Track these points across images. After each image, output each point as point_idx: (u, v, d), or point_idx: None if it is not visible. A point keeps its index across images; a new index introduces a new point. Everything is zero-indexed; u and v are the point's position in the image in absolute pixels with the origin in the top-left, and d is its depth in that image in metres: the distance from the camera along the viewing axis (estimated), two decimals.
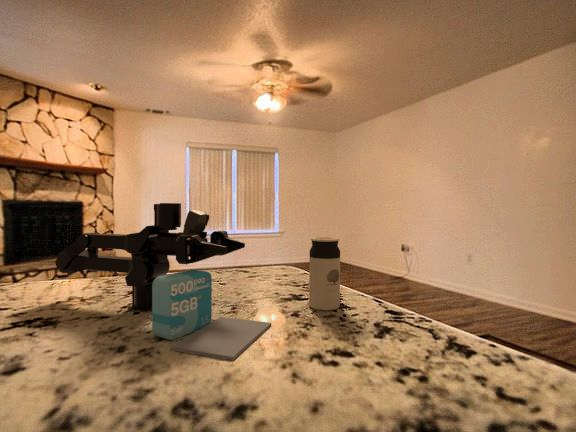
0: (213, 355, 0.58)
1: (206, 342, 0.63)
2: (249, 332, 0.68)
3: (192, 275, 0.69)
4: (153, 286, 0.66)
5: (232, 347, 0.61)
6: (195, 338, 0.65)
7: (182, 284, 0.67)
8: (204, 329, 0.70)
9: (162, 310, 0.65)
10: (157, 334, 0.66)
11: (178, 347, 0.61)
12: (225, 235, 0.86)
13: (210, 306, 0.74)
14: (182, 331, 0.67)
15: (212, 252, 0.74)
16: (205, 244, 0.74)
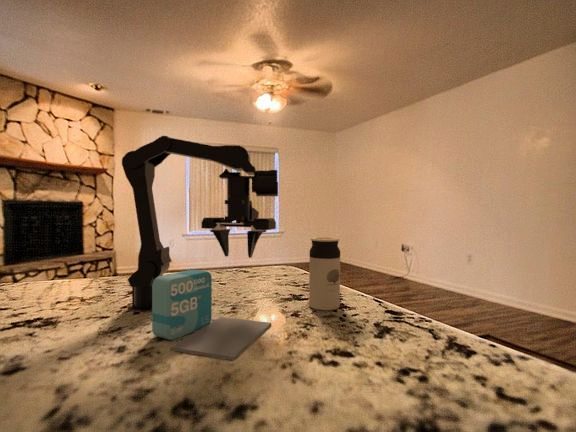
0: (213, 355, 0.58)
1: (206, 342, 0.63)
2: (249, 332, 0.68)
3: (192, 275, 0.69)
4: (153, 286, 0.66)
5: (232, 347, 0.61)
6: (195, 338, 0.65)
7: (182, 284, 0.67)
8: (204, 329, 0.70)
9: (162, 310, 0.65)
10: (157, 334, 0.66)
11: (178, 347, 0.61)
12: None
13: (210, 306, 0.74)
14: (182, 331, 0.67)
15: (252, 246, 0.85)
16: (257, 240, 0.87)
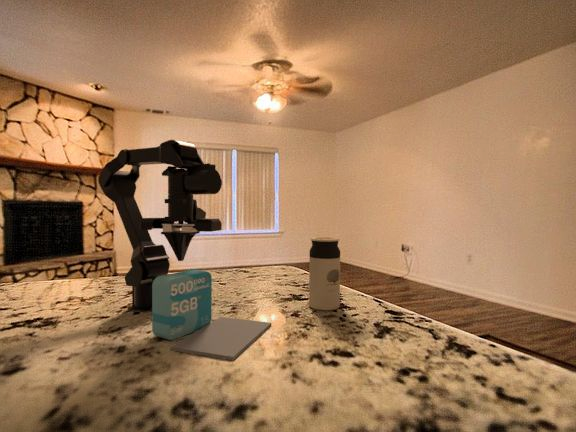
0: (213, 355, 0.58)
1: (206, 342, 0.63)
2: (249, 332, 0.68)
3: (192, 275, 0.69)
4: (153, 286, 0.66)
5: (232, 347, 0.61)
6: (195, 338, 0.65)
7: (182, 284, 0.67)
8: (204, 329, 0.70)
9: (162, 310, 0.65)
10: (157, 334, 0.66)
11: (178, 347, 0.61)
12: None
13: (210, 306, 0.74)
14: (182, 331, 0.67)
15: (183, 249, 0.79)
16: (189, 242, 0.81)
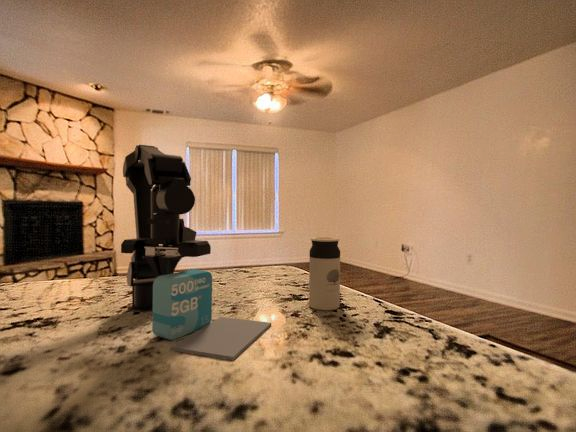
0: (213, 355, 0.58)
1: (206, 342, 0.63)
2: (249, 332, 0.68)
3: (193, 275, 0.69)
4: (154, 286, 0.66)
5: (232, 347, 0.61)
6: (195, 338, 0.65)
7: (183, 284, 0.67)
8: (204, 329, 0.70)
9: (162, 310, 0.65)
10: (157, 334, 0.66)
11: (178, 347, 0.61)
12: None
13: (210, 306, 0.74)
14: (182, 331, 0.67)
15: None
16: (175, 266, 0.72)
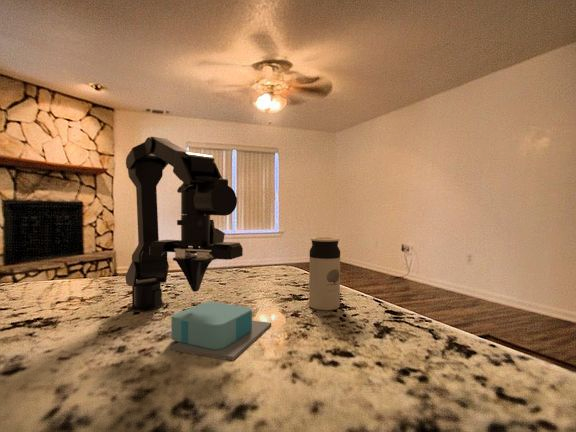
0: (213, 355, 0.58)
1: None
2: (249, 332, 0.68)
3: (238, 338, 0.65)
4: (211, 327, 0.60)
5: (232, 347, 0.61)
6: None
7: None
8: None
9: (192, 338, 0.61)
10: (172, 325, 0.64)
11: (178, 347, 0.61)
12: None
13: None
14: None
15: (198, 277, 0.68)
16: (205, 269, 0.70)
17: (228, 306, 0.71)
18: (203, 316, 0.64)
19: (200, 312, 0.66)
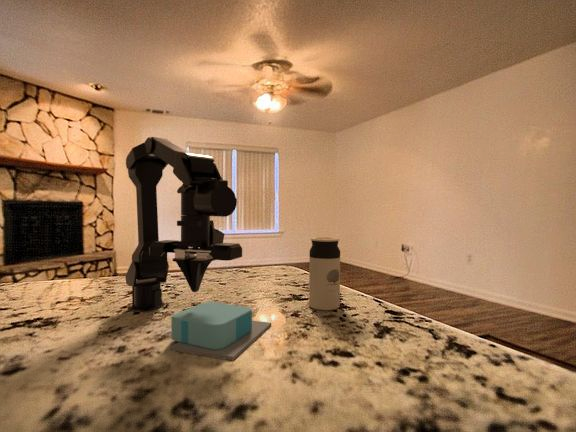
0: (213, 355, 0.58)
1: None
2: (249, 332, 0.68)
3: (238, 338, 0.65)
4: (211, 327, 0.60)
5: (232, 347, 0.61)
6: None
7: None
8: None
9: (192, 338, 0.61)
10: (172, 325, 0.64)
11: (178, 347, 0.61)
12: None
13: None
14: None
15: (198, 278, 0.68)
16: (205, 270, 0.70)
17: (228, 306, 0.71)
18: (203, 316, 0.64)
19: (200, 312, 0.66)
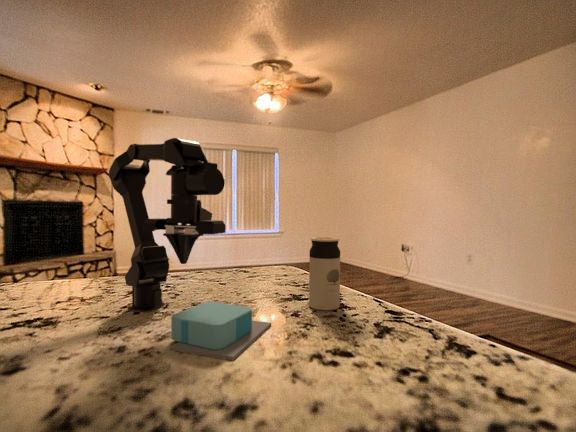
0: (213, 355, 0.58)
1: None
2: (249, 332, 0.68)
3: (238, 338, 0.65)
4: (211, 327, 0.60)
5: (232, 347, 0.61)
6: None
7: None
8: None
9: (192, 338, 0.61)
10: (172, 325, 0.64)
11: (178, 347, 0.61)
12: None
13: None
14: None
15: (186, 251, 0.76)
16: (193, 244, 0.78)
17: (228, 306, 0.71)
18: (203, 316, 0.64)
19: (200, 312, 0.66)
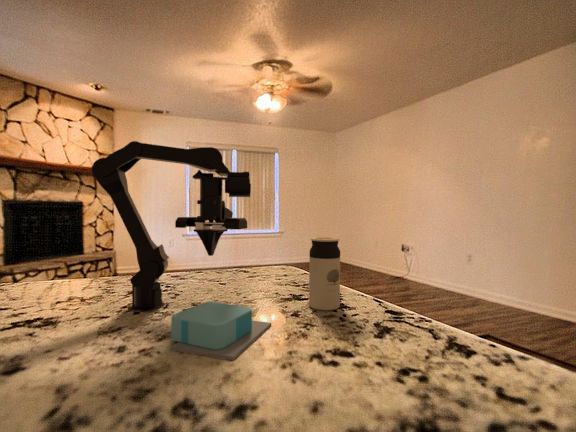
0: (213, 355, 0.58)
1: None
2: (249, 332, 0.68)
3: (238, 338, 0.65)
4: (211, 327, 0.60)
5: (232, 347, 0.61)
6: None
7: None
8: None
9: (192, 338, 0.61)
10: (172, 325, 0.64)
11: (178, 347, 0.61)
12: None
13: None
14: None
15: (213, 245, 0.89)
16: (218, 239, 0.90)
17: (228, 306, 0.71)
18: (203, 316, 0.64)
19: (200, 312, 0.66)
